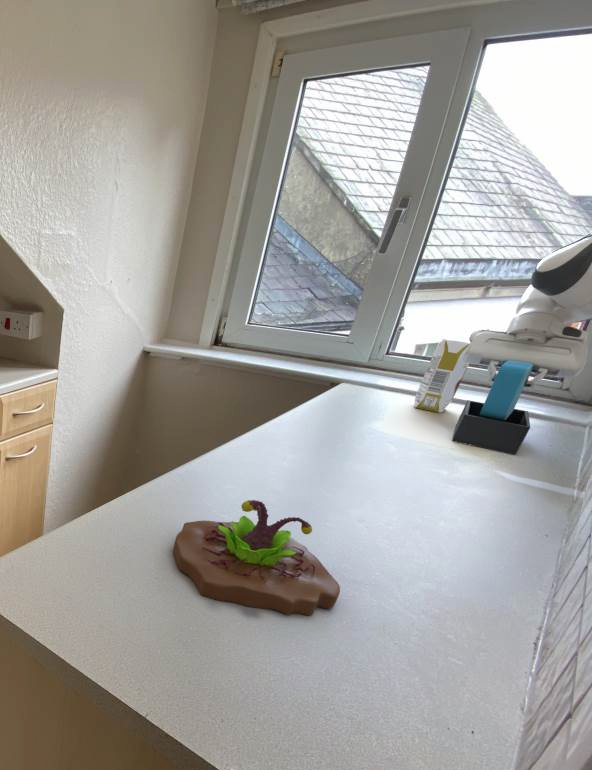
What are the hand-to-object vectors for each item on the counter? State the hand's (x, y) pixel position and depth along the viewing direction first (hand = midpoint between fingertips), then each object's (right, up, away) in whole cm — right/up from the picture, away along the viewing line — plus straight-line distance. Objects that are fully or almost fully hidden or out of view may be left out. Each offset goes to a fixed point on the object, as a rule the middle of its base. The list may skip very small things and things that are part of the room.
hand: (511, 383), depth 127 cm
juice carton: (+4, -3, +26) cm, 26 cm away
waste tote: (-2, -13, +5) cm, 14 cm away
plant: (-88, -36, -48) cm, 107 cm away
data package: (-2, -7, +2) cm, 8 cm away
